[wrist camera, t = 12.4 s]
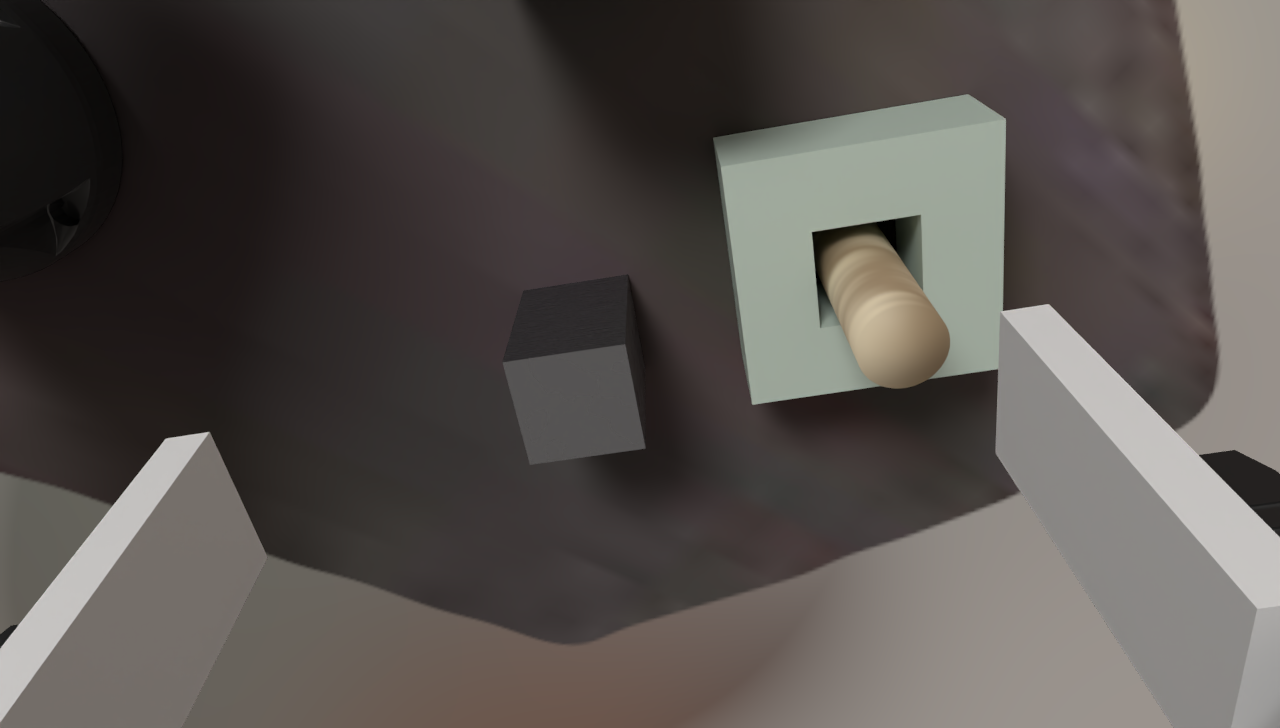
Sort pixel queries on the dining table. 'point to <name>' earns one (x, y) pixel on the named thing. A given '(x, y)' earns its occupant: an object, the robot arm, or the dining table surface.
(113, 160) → the robot arm
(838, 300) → the birch dowel
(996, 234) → the socket block
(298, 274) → the dining table surface
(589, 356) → the dark grey block
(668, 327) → the dining table surface
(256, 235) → the dining table surface
